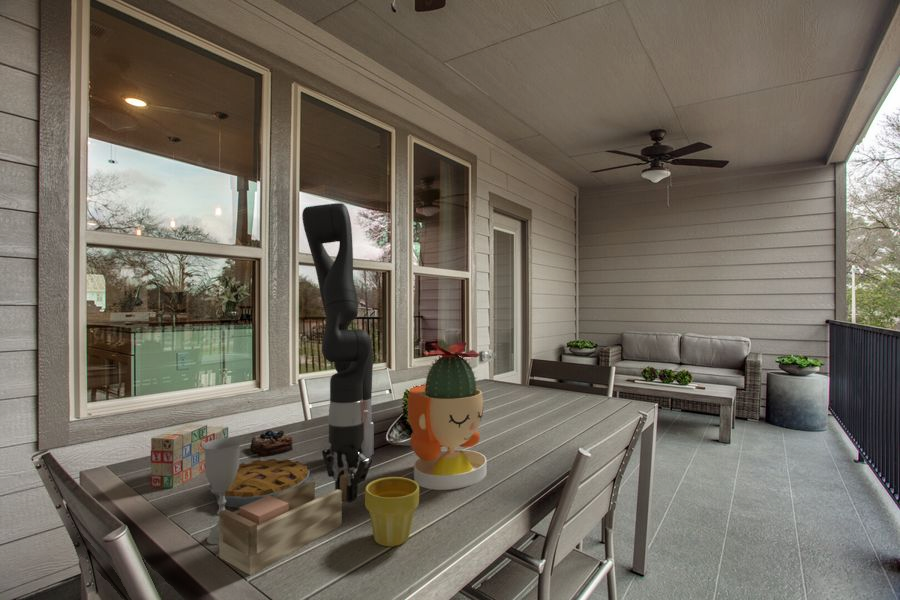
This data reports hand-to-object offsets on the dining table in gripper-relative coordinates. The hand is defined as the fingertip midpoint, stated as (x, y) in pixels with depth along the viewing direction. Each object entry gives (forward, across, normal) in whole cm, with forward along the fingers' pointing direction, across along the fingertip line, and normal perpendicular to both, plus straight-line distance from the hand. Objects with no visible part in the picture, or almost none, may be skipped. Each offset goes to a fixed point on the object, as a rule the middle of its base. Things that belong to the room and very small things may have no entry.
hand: (346, 498), depth 97 cm
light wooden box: (+2, 0, +16) cm, 16 cm away
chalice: (+2, +11, +22) cm, 24 cm away
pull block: (0, 0, +11) cm, 11 cm away
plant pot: (+2, -16, +4) cm, 17 cm away
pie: (+3, +24, +5) cm, 25 cm away
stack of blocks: (+2, +50, +8) cm, 51 cm away
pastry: (+3, +49, -15) cm, 51 cm away
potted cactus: (+2, -6, -29) cm, 30 cm away
